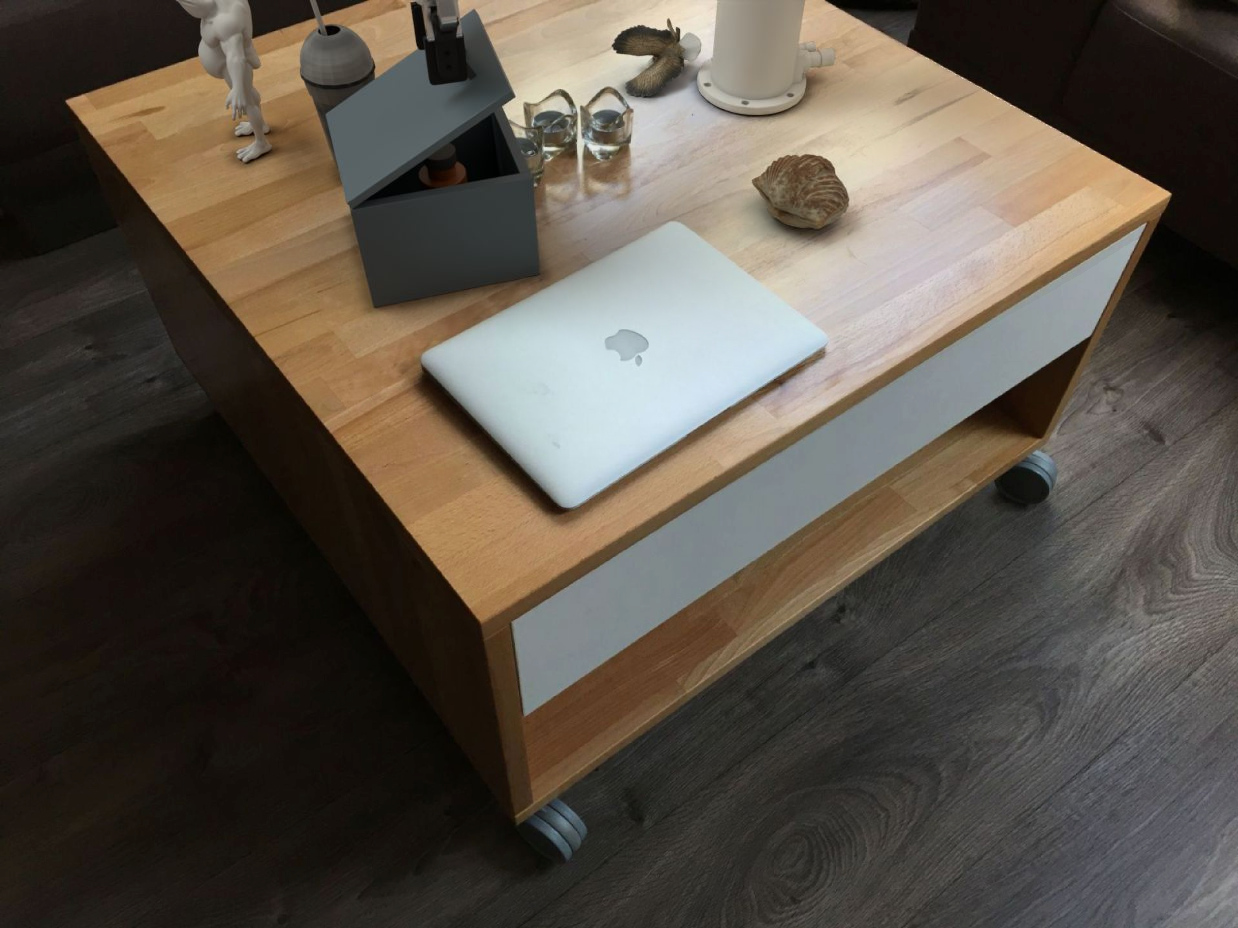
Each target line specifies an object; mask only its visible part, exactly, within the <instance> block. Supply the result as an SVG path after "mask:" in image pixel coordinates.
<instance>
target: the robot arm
mask: <svg viewBox="0 0 1238 928" xmlns="http://www.w3.org/2000/svg"><path fill="white" fill-rule="evenodd" d="M409 4H410V10H411V19H412V25H413V31H414V39H415V45H416V47H417V48H416V49H419V50H425V56H426V63H427V71H428V78H429V81H430V84H431V85H442V84H449V83H456V82H463V81H466V80H467V78H468V72H467V62H466V53H465V43H464V34H463V32H462V28H461V21H460V18H461V15H460V8H459V0H413V1H411V2H409ZM805 5H806V0H716V9H715V10H716V11H715V12H716V13H715V21H714V23H715V24H714V33H713V34H714V36H713V46H712V47H713V48H712V57H710V58H708V59H707V60H706V61H704V62H703V63H702V65H701V66H700V68H699V69H698V72H697V78H696V79H697V80H696V84H697V89H698V91H699V93H700V94H701V96H703V98H704V99H705V100H706V101H708V102H709V103H711V104H712V105H713V106H715V107H718V108H720V109H721V110H725V111H728V112H731V113H735V114H740V115H749V116H763V115H771V114H776V113H781V112H783V111H785V110H789V109H790V108H792V107H794V106H795V105H797V104H798V103H799V102H800V101H801V100H802V99H803V97H804V96H805V92H806V87H807V77H806V75H805V74H807V73H809V72H810V71H811V69H816V68H817V69H819V68H825V67H830V66H834V65H835V63H836V51H835V50H834V48H832V47H828V48H822V49H817V46H816V43H815V41H814V40H813V41H807V42H802V43H800V38H801V31H802V24H803V17H804V12H805ZM435 10H437V15H436V16H434V17H433V20H432V17H431V14H432V12H434V11H435Z"/></svg>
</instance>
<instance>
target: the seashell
mask: <svg viewBox="0 0 1238 928" xmlns="http://www.w3.org/2000/svg"><path fill="white" fill-rule="evenodd" d="M751 184H752V185H753V187H754V188H755V189H756V190H757V192H758V193H759V195H760V196H761V197H762V199H763V201H764V203H765V206H766V208H767V211H768V213H769V214H770V216H771V217H772V218H773V219H777V220H779V221H780V222H781V223H783V224H785V225H788V226H791V227H795V228H801V229H807V228H808V229H809V228H813V229H815V230H821V229H822V228H823V227H825V226H827V225H831V224H832V223H834V222H835V221H837V220H839V219H841V217H842V216H843V215H844V214H845V213H846V212H847V210H848V208H849V206H850V204H849V202H850V197H849V192H848V189H847V188H846V186H845V184H844V182H843V181H842V180H841V179H840V177H839V176H838V175H837V174H836V168H835V167H834V164H833V163H832V161H830V160H829V159H828V158H825V157H824V156H822V155H815V154H810V153H805V154H802V155H800V156H799V155H798V154H792V155H791V154H786V155H784V156H781V157H778V159H777V160H773V161H772V163H771V164H770V165H768V166H767V167H766V169H765V171H764V172H762V173H761V174H760V175H759V176H756V177H754V178H753V179H752V180H751Z"/></svg>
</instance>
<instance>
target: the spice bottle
mask: <svg viewBox="0 0 1238 928" xmlns="http://www.w3.org/2000/svg"><path fill="white" fill-rule="evenodd" d="M418 176H419V182H420V188H421V191H424V190H430V189H436V188H441V187H447V186H452V185H458V184H464V183H467V175H466V169H465V168H464V166H463V165H462V164H461V163H459V162H457V157H456V150H455V147H454V146H453V145H452V144H451V143H448V144H446V145H445V146H444V147H442V148H441V149H439V150H438V151H436V152H435V153H433V154H432V155H430V156H429V157H427V158H426V159H425V160H424V166H423V167H422V168H421V169H420V171H419V175H418Z"/></svg>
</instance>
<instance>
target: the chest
mask: <svg viewBox="0 0 1238 928" xmlns="http://www.w3.org/2000/svg"><path fill="white" fill-rule="evenodd" d="M510 123H511V122H510V121H509V119H508V117H507V114H506V112H505V110H504V108H503V106H502V107H501V108H499V109H498V110H496V111H495V112H493V113H492V114H490V115H489V116H487V117H486V118H485V119H483V120H482V121H480V122H479V123H477V124H476V125H474V126H473V127H471V128H470V129H468V130H467V131H466V132H464V133H463V134H461V135H460V136H458V137H457V138H455V139H454V140H452V141H451V142H449V143H451V144H452V145H453V146H454V147H455V150H456V157H457V162H459V163H461V164H462V165H463V166H464V168H465V169H466V175H467V183H464V184H458V185H452V186H447V187H441V188H436V189H430V190H424V191H421V188H420V182H419V176H418V175H419V171H420V169H421V168H422V167H423V166H424V160H423V161H422V162H420V163H419V164H417V165H416V166H414V167H413V168H411V169H410V170H408V171H407V172H406V173H404V174H403V175H401V176H400V177H398V178H397V179H395V180H394V181H392V182H391V183H389V184H388V185H386V186H385V187H384V188H382V189H381V190H379V191H378V192H376V193H375V194H373V195H372V196H370V197H369V198H367V199H366V200H365V201H363V202H362V203H360V204H359V205H357V206H356V207H354V208H351V207H350V206H349V205H348V207H349V211H350V214H351V219H352V224H353V227H354V231H355V235H356V240H357V244H358V248H359V252H360V256H361V261H362V264H363V269H364V273H365V277H366V281H367V286H368V290H369V293H370V298H371V302H372V306H373V307H372V308H378V307H383V306H389V305H394V304H398V303H404V302H408V301H413V300H419V299H424V298H429V297H434V296H438V295H443V294H447V293H453V292H459V291H463V290H469V289H474V288H479V287H484V286H489V285H494V284H499V283H503V282H508V281H514V280H518V279H519V280H520V279H524V278H528V277H533V276H539V275H541V268H540V255H539V253H540V252H539V239H538V226H537V210H536V196H535V183H534V181H535V180H534V176H533V174H532V171H531V170H530V167H529V164H528V162H527V160H526V158H525V155H524V153H523V152H522V148H521V146H520V144H519V142H518V139H517V137H516V135H515V133H514V130H513V128H512V126H511V124H510Z"/></svg>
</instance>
